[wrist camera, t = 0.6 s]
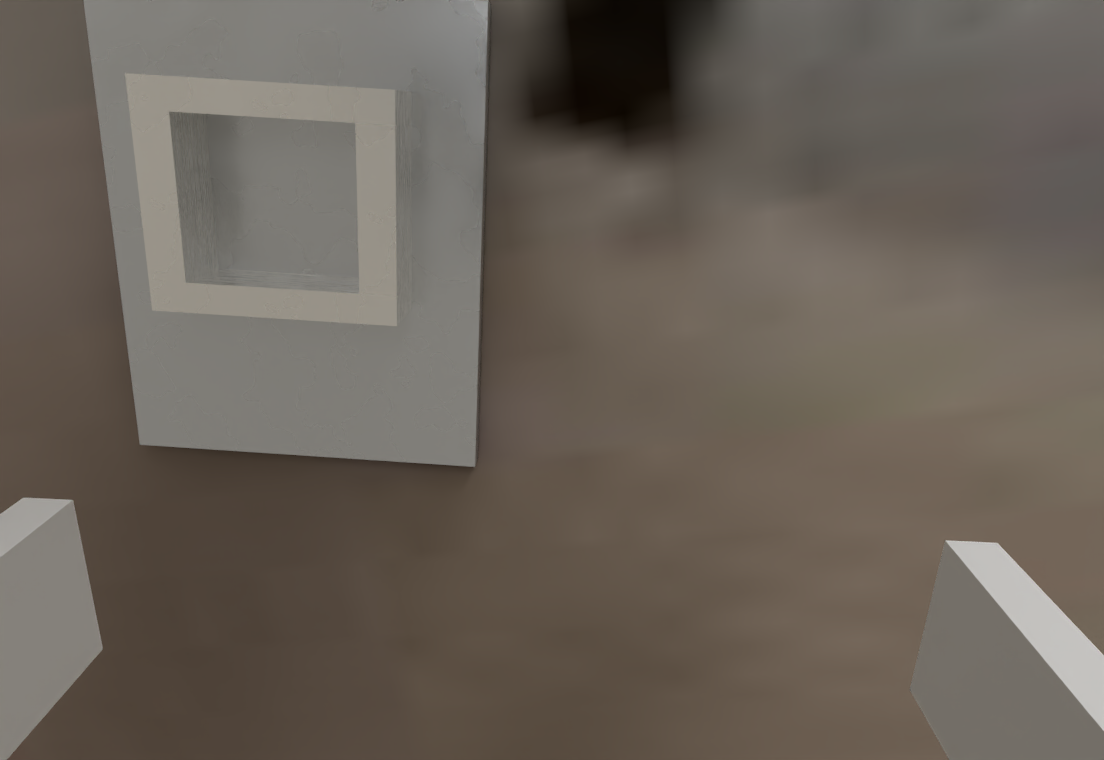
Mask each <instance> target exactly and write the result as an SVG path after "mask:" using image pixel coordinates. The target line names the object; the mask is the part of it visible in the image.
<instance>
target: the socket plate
mask: <svg viewBox="0 0 1104 760" xmlns="http://www.w3.org/2000/svg"><path fill="white" fill-rule="evenodd" d="M83 1H84V9H85V16H86V24H87V32H88V40H89V48H90V56H91V64H92V72H93V79H94V87H95V95H96V103H97V111H98V119H99V127H100V135H101V142H102V150H103V158H104V166H105V174H106V182H107V190H108V198H109V206H110V213H111V221H112V229H113V237H114V245H115V253H116V261H117V269H118V276H119V284H120V292H121V300H122V308H123V316H124V324H125V332H126V340H127V347H128V355H129V363H130V371H131V379H132V387H133V395H134V403H135V410H136V418H137V426H138V434H139V442H140V445H152V446H167V447H182V448H197V449H212V450H227V451H243V452H258V453H273V454H288V455H303V456H318V457H333V458H348V459H364V460H379V461H394V462H409V463H424V464H439V465H454V466H469V467H475V466H476V462H477V459H478V431H479V397H480V362H481V328H482V293H483V259H484V225H485V190H486V156H487V121H488V87H489V53H490V18H491V4H490V2H489V1H483V0H83Z"/></svg>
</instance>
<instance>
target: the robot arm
mask: <svg viewBox="0 0 1104 760" xmlns="http://www.w3.org/2000/svg"><path fill="white" fill-rule="evenodd" d="M102 649H103V647H102V642H101V637H100V632H99V627H98V622H97V617H96V612H95V607H94V602H93V597H92V592H91V587H90V582H89V577H88V572H87V567H86V562H85V557H84V552H83V547H82V542H81V537H80V532H79V527H78V522H77V517H76V512H75V507H74V502H73V500H63V499H42V498H22V499H21V500H19V501H18V502H17V503H15V504H14V505H12V506H11V507H10V508H8V509H7V510H5V511H4V512H3V513H1V514H0V760H7V759H8V758H9V757H10V755H11V754H12V753H13V752H14V751H15V750H16V748H17V747H18V746H19V745H20V744H21V743H22V742H23V740H24V739H25V738H26V737H27V736H28V735H29V733H30V732H31V731H32V730H33V729H34V728H35V727H36V725H37V724H38V723H39V722H40V721H41V720H42V719H43V717H44V716H45V715H46V714H47V713H48V712H49V710H50V709H51V708H52V707H53V706H54V705H55V704H56V702H57V701H58V700H59V699H60V698H61V697H62V696H63V694H64V693H65V692H66V691H67V690H68V689H69V687H70V686H71V685H72V684H73V683H74V682H75V681H76V679H77V678H78V677H79V676H80V675H81V674H82V673H83V671H84V670H85V669H86V668H87V667H88V666H89V664H90V663H91V662H92V661H93V660H94V659H95V658H96V656H97V655H98V654H99V653H100V652H101V651H102ZM910 691H911V693H912V695H913V696H914V698H915V700H916V702H917V703H918V705H919V707H920V709H921V711H922V712H923V714H924V716H925V718H926V720H927V721H928V723H929V725H930V727H931V728H932V730H933V732H934V734H935V736H936V737H937V739H938V741H939V743H940V744H941V746H942V748H943V750H944V752H945V753H946V755H947V757H948V759H949V760H1104V655H1103V654H1102V653H1101V652H1100V651H1099V650H1098V649H1097V648H1096V647H1095V646H1094V645H1093V644H1092V643H1091V641H1090V640H1089V639H1088V638H1087V637H1086V636H1085V635H1084V634H1083V633H1082V632H1081V631H1080V630H1079V629H1078V628H1077V627H1076V626H1075V625H1074V623H1073V622H1072V621H1071V620H1070V619H1069V618H1068V617H1067V616H1066V615H1065V614H1064V613H1063V612H1062V611H1061V610H1060V609H1059V608H1058V607H1057V606H1056V604H1055V603H1054V602H1053V601H1052V600H1051V599H1050V598H1049V597H1048V596H1047V595H1046V594H1045V593H1044V592H1043V591H1042V590H1041V589H1040V588H1039V586H1038V585H1037V584H1036V583H1035V582H1034V581H1033V580H1032V579H1031V578H1030V577H1029V576H1028V575H1027V574H1026V573H1025V572H1024V571H1023V570H1022V568H1021V567H1020V566H1019V565H1018V564H1017V563H1016V562H1015V561H1014V560H1013V559H1012V558H1011V557H1010V556H1009V555H1008V554H1007V553H1006V552H1005V550H1004V549H1003V548H1002V547H1001V546H1000V545H999V544H998V543H988V542H966V541H945V544H944V548H943V552H942V556H941V560H940V565H939V569H938V573H937V577H936V581H935V586H934V590H933V594H932V598H931V603H930V607H929V611H928V615H927V619H926V624H925V628H924V632H923V636H922V640H921V645H920V649H919V653H918V657H917V661H916V666H915V670H914V674H913V678H912V682H911V687H910Z"/></svg>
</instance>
